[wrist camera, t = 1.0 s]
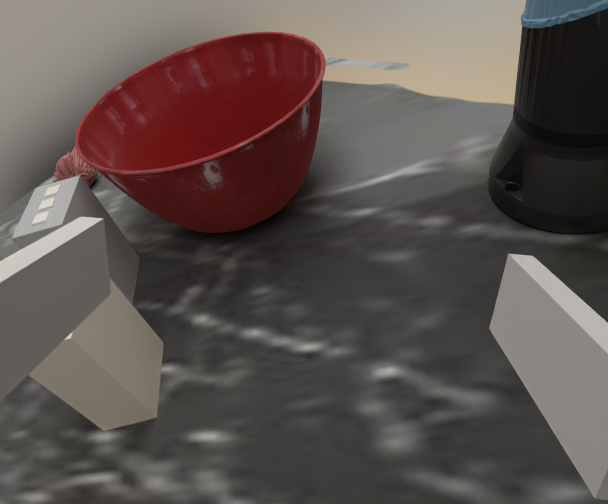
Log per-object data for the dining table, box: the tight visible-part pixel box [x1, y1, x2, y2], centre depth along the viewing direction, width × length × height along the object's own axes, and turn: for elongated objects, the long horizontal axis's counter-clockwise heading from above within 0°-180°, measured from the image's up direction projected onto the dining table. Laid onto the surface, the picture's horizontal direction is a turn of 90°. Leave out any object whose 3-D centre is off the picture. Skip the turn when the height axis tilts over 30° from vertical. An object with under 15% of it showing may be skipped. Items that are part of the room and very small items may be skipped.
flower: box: [53, 147, 97, 186], centre depth 69 cm, size 8×8×6 cm
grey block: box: [11, 175, 140, 305], centre depth 49 cm, size 8×5×13 cm, turn 9°
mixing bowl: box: [75, 32, 325, 233], centre depth 55 cm, size 28×28×16 cm
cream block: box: [29, 279, 164, 431], centre depth 38 cm, size 8×5×13 cm, turn 9°
